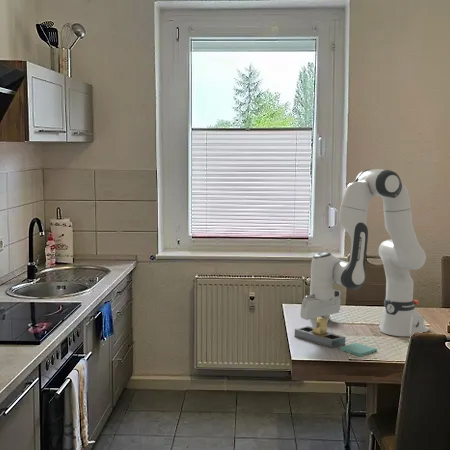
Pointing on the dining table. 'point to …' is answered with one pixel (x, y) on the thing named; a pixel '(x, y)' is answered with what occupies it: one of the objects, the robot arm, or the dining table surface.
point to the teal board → (358, 349)
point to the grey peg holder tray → (320, 337)
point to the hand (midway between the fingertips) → (319, 326)
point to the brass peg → (320, 326)
